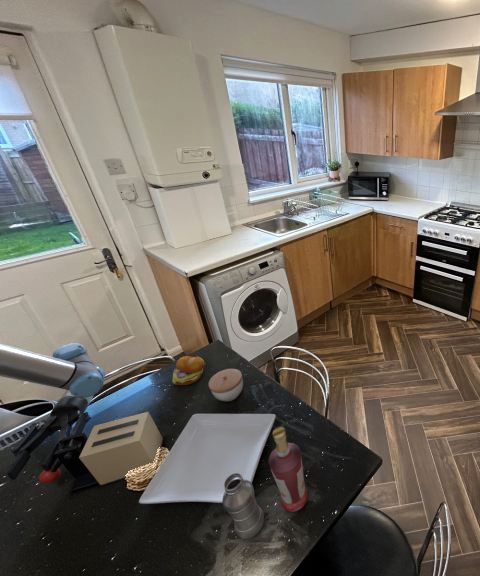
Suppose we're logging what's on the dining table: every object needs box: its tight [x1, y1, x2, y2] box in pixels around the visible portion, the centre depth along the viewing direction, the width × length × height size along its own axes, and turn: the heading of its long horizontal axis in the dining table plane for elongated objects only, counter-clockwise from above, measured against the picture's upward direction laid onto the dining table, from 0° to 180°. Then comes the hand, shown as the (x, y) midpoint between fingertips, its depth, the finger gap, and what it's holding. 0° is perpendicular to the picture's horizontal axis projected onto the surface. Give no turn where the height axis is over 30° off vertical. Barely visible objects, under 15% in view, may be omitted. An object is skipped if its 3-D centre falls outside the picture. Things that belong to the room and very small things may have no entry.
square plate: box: [138, 413, 277, 505], centre depth 91 cm, size 27×27×4 cm
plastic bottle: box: [221, 473, 265, 540], centre depth 72 cm, size 6×7×20 cm
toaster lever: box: [38, 439, 82, 485], centre depth 83 cm, size 14×4×4 cm
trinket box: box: [208, 368, 244, 402], centre depth 111 cm, size 11×11×9 cm
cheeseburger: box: [172, 355, 205, 386], centre depth 119 cm, size 10×11×10 cm
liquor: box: [268, 426, 309, 513], centre depth 75 cm, size 7×7×28 cm
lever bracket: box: [54, 431, 100, 493], centre depth 85 cm, size 6×9×14 cm, turn 22°
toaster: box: [79, 411, 165, 487], centre depth 88 cm, size 13×10×13 cm
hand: (28, 471), depth 81 cm, fingers open, 6 cm apart
